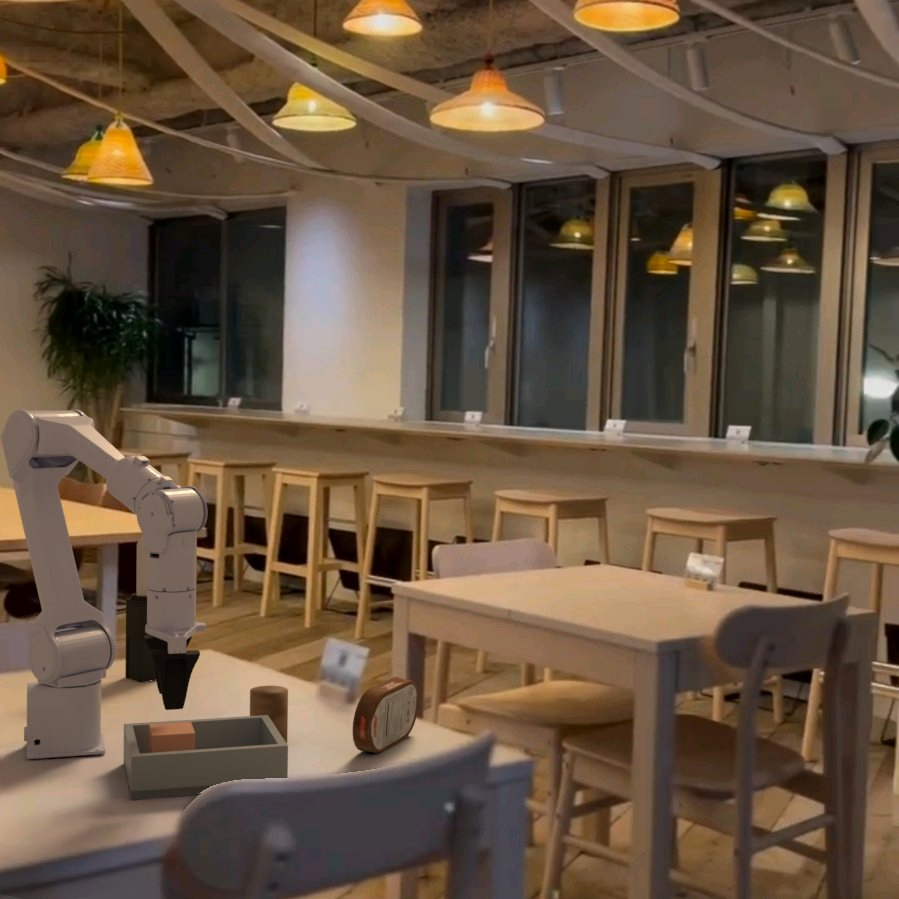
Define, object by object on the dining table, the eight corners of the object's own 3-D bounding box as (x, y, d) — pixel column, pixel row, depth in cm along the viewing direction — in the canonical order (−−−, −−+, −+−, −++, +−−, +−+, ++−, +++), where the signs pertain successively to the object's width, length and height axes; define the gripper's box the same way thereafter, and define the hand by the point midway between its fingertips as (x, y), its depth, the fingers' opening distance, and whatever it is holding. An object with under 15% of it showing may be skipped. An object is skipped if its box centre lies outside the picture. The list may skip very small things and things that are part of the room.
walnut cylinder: (252, 748, 163) (253, 695, 162) (246, 738, 168) (247, 686, 167) (290, 746, 164) (291, 693, 164) (283, 735, 169) (284, 684, 169)
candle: (167, 677, 200) (169, 522, 199) (140, 683, 196) (141, 525, 195) (149, 672, 203) (150, 520, 202) (122, 677, 200) (123, 522, 198)
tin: (401, 729, 173) (402, 669, 173) (421, 732, 172) (422, 672, 172) (349, 758, 160) (350, 693, 159) (371, 762, 158) (372, 696, 158)
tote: (130, 800, 142) (131, 756, 142) (123, 763, 155) (123, 724, 155) (287, 787, 148) (288, 745, 147) (267, 753, 161) (267, 714, 161)
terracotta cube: (151, 777, 147) (152, 735, 147) (148, 764, 152) (149, 724, 151) (194, 774, 148) (195, 733, 148) (190, 762, 153) (190, 721, 153)
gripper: (213, 597, 143) (212, 714, 144) (198, 578, 157) (197, 684, 158) (150, 599, 141) (149, 718, 142) (141, 579, 155) (140, 687, 156)
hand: (170, 700), depth 150 cm, fingers open, 7 cm apart
